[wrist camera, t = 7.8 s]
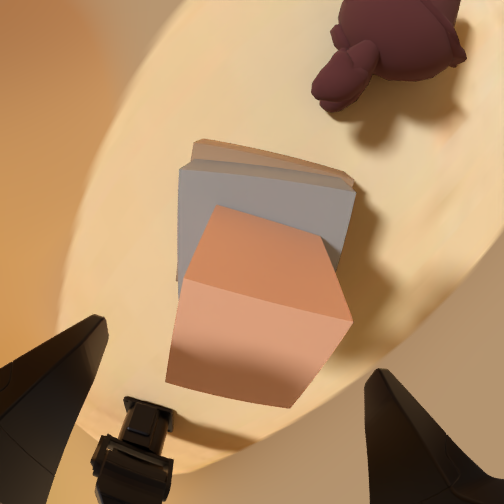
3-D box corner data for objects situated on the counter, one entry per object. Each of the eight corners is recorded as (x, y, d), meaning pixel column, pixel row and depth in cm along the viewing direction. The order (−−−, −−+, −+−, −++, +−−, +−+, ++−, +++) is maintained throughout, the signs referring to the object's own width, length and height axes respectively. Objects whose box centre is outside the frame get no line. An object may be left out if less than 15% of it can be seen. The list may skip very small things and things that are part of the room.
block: (283, 315, 15) (289, 408, 10) (194, 291, 15) (165, 381, 10) (320, 236, 13) (353, 321, 8) (216, 204, 13) (183, 278, 7)
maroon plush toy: (421, -89, 3) (245, 43, 10) (530, -2, 3) (381, 157, 10) (407, -37, 9) (279, 76, 16) (486, 30, 9) (366, 153, 16)
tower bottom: (303, 284, 22) (308, 308, 19) (186, 259, 21) (175, 281, 18) (341, 169, 18) (354, 180, 15) (205, 137, 17) (193, 142, 14)
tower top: (311, 297, 19) (318, 327, 16) (190, 283, 18) (179, 311, 16) (340, 177, 15) (356, 192, 12) (194, 158, 15) (179, 169, 12)
